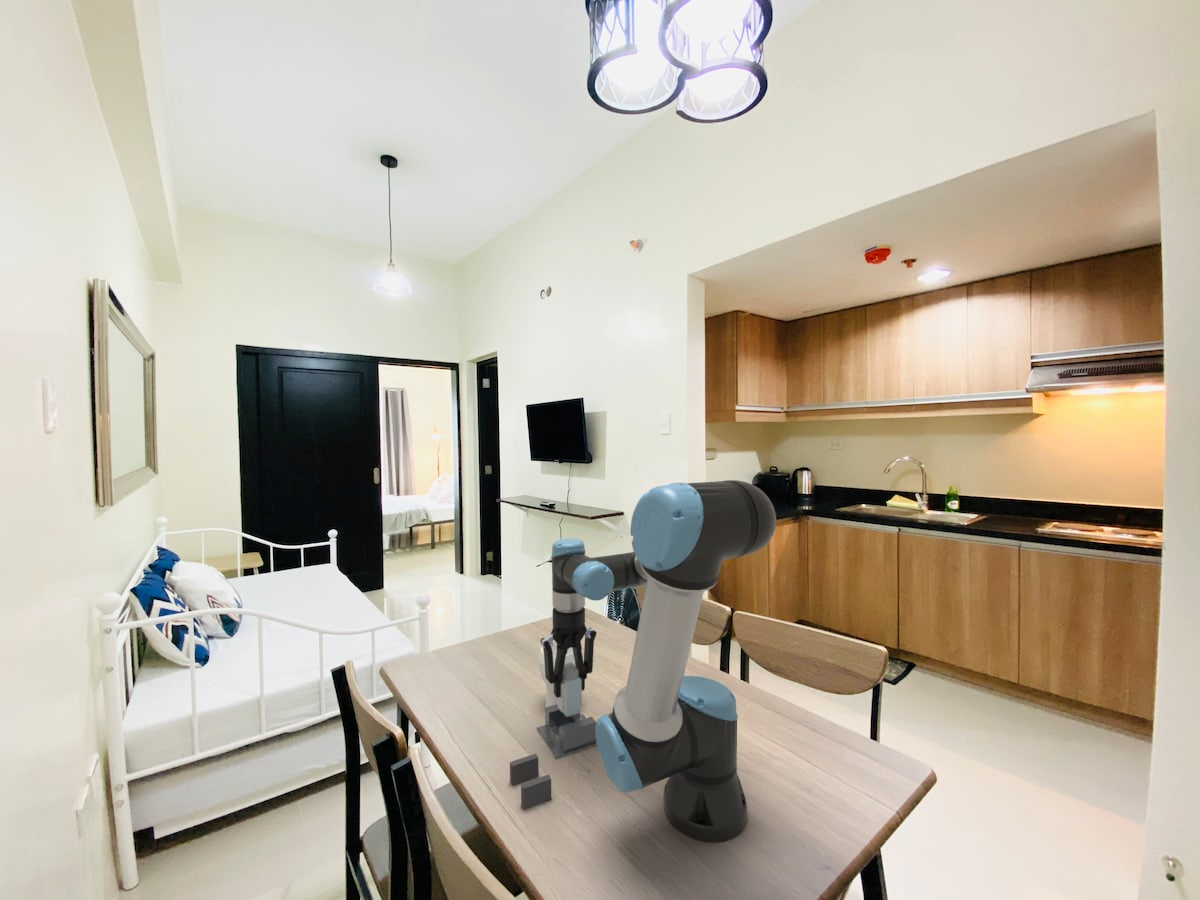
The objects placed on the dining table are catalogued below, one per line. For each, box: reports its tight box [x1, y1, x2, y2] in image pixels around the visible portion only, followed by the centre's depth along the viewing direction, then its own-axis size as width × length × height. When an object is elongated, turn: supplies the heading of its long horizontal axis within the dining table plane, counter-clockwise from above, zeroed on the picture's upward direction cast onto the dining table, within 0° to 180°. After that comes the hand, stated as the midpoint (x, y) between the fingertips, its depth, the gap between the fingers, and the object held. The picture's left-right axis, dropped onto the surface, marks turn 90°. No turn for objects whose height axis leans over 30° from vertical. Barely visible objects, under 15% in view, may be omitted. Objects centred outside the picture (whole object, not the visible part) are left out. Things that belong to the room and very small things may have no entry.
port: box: [536, 704, 597, 760], centre depth 111 cm, size 12×12×5 cm
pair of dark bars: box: [509, 753, 553, 811], centre depth 94 cm, size 8×6×4 cm, turn 28°
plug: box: [562, 662, 581, 717], centre depth 111 cm, size 5×4×10 cm
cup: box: [538, 640, 576, 709], centre depth 124 cm, size 11×11×15 cm
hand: (569, 706), depth 111 cm, fingers closed on plug, 3 cm apart
